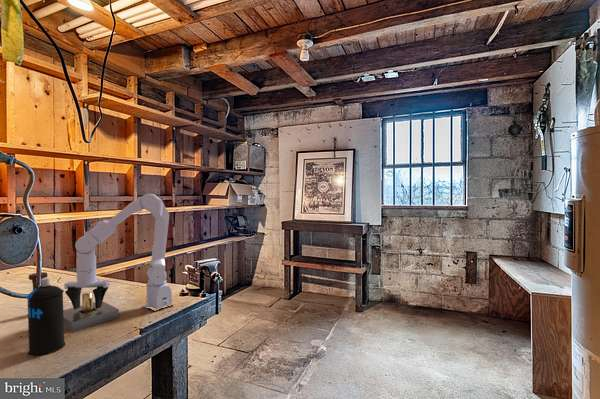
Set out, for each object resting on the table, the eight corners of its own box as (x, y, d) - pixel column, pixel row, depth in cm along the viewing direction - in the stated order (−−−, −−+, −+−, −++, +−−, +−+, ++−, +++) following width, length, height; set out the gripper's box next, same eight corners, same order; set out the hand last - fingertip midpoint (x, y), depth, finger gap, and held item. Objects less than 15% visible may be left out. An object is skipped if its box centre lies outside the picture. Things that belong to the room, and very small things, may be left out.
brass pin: (95, 317, 111) (94, 292, 111) (90, 320, 108) (89, 294, 108) (86, 317, 110) (85, 292, 110) (81, 320, 107) (80, 295, 107)
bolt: (36, 317, 112) (35, 276, 112) (25, 316, 113) (24, 275, 113) (52, 311, 118) (51, 272, 118) (41, 310, 119) (40, 271, 119)
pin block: (118, 317, 110) (118, 309, 110) (71, 331, 99) (71, 322, 99) (101, 308, 120) (101, 300, 119) (56, 320, 108) (56, 311, 108)
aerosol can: (61, 339, 93) (59, 273, 93) (69, 347, 88) (67, 277, 88) (25, 350, 87) (22, 279, 87) (31, 359, 82) (29, 284, 81)
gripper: (113, 266, 113) (115, 303, 113) (74, 267, 113) (75, 304, 113) (101, 271, 106) (103, 310, 106) (59, 272, 106) (60, 311, 106)
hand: (87, 308), depth 109 cm, fingers open, 7 cm apart
